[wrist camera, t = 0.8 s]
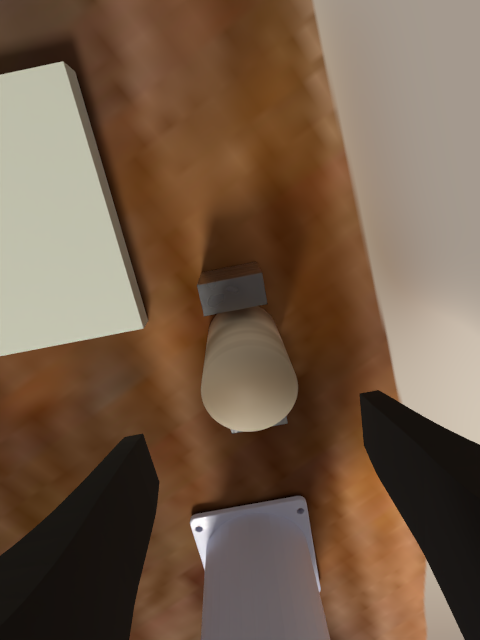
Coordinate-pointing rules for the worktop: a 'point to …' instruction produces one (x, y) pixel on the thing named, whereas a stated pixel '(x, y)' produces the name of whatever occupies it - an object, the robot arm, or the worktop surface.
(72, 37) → the worktop surface
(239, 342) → the birch peg
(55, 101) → the board
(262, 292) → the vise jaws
